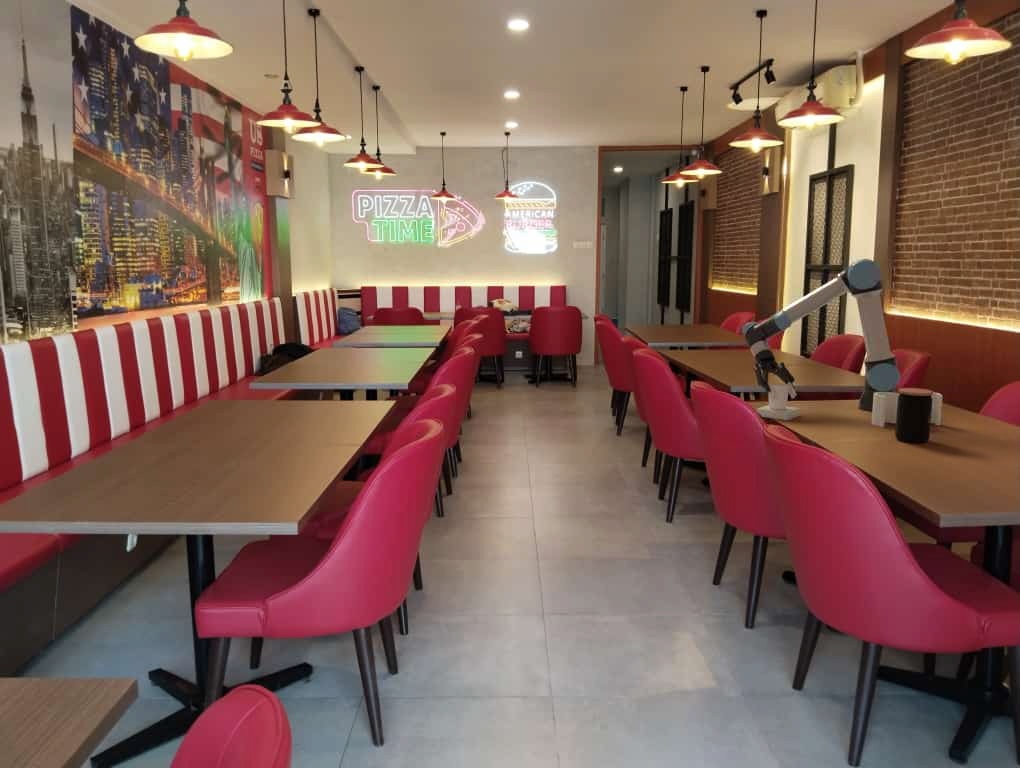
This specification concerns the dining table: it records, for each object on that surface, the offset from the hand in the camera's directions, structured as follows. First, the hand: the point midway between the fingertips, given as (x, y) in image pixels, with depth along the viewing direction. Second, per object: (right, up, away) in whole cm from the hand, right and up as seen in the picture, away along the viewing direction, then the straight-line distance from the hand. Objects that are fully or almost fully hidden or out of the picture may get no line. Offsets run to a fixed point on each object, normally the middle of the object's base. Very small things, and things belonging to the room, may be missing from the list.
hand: (784, 397), depth 303 cm
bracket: (+42, -10, -13) cm, 45 cm away
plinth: (-1, -8, +4) cm, 9 cm away
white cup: (-1, -5, +4) cm, 6 cm away
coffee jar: (+31, -15, -39) cm, 52 cm away
